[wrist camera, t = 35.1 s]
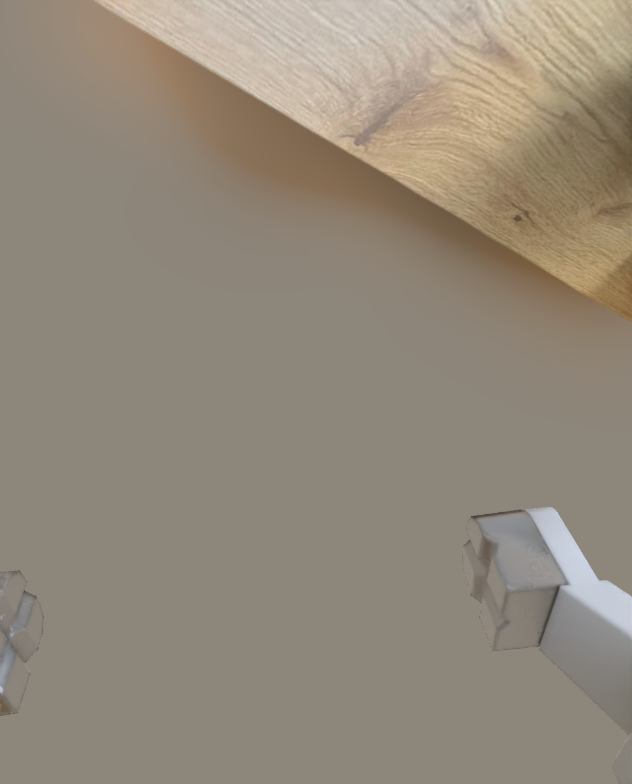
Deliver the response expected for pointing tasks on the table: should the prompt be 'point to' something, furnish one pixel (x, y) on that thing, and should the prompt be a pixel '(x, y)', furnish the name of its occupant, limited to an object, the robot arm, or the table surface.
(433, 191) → the table surface
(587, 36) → the table surface
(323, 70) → the table surface
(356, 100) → the table surface
